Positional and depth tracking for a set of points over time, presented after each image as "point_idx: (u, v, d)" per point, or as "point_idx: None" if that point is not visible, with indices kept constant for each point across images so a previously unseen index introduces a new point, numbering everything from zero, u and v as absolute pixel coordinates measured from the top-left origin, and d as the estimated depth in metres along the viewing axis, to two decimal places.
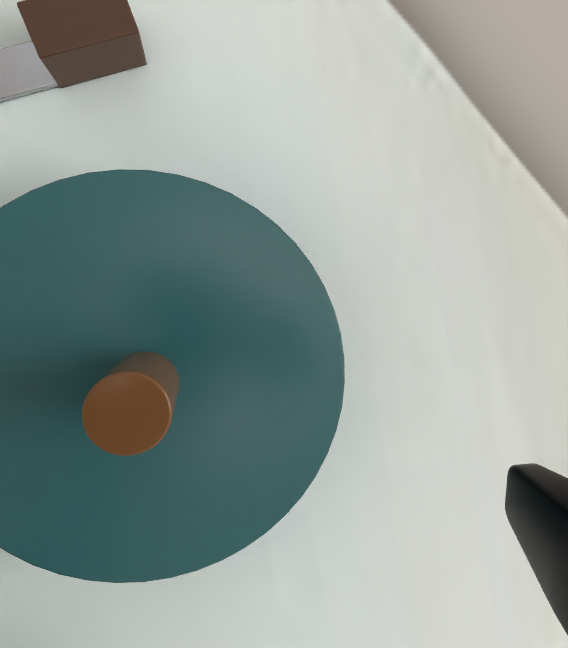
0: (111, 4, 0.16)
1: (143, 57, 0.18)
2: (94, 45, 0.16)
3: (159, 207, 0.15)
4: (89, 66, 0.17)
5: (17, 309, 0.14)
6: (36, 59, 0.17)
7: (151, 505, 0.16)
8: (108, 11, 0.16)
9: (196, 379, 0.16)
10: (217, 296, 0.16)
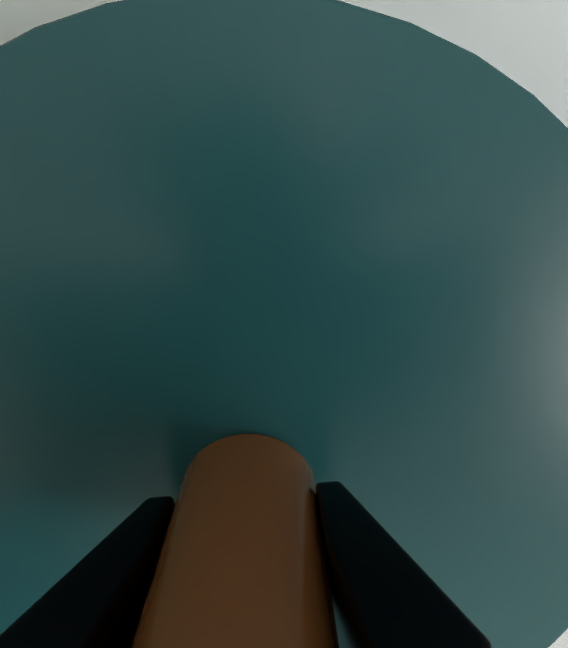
0: None
1: None
2: None
3: (402, 131, 0.06)
4: None
5: (29, 286, 0.06)
6: None
7: None
8: None
9: None
10: (448, 366, 0.07)
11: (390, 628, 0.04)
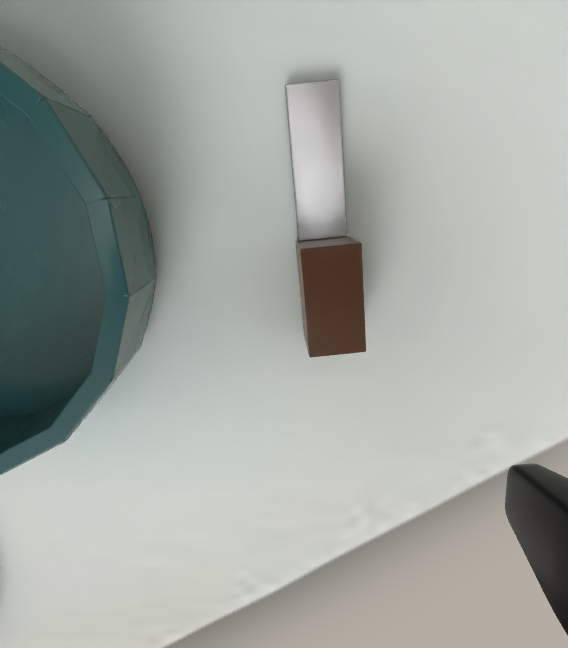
0: (341, 338, 0.15)
1: (305, 339, 0.16)
2: (305, 308, 0.14)
3: None
4: (301, 286, 0.15)
5: None
6: (327, 227, 0.15)
7: None
8: (334, 333, 0.14)
9: None
10: None
11: None
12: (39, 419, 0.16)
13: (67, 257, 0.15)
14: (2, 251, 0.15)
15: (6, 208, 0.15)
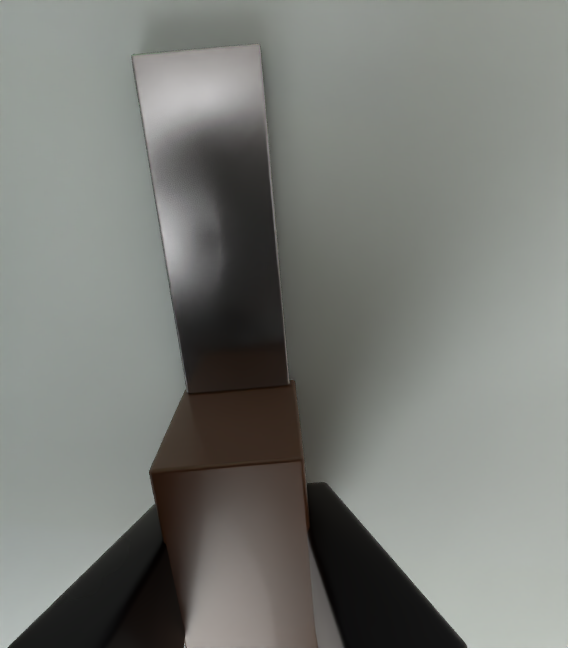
0: (262, 646, 0.06)
1: None
2: None
3: None
4: None
5: None
6: (246, 367, 0.07)
7: None
8: (246, 637, 0.06)
9: None
10: None
11: (366, 630, 0.04)
12: None
13: None
14: None
15: None
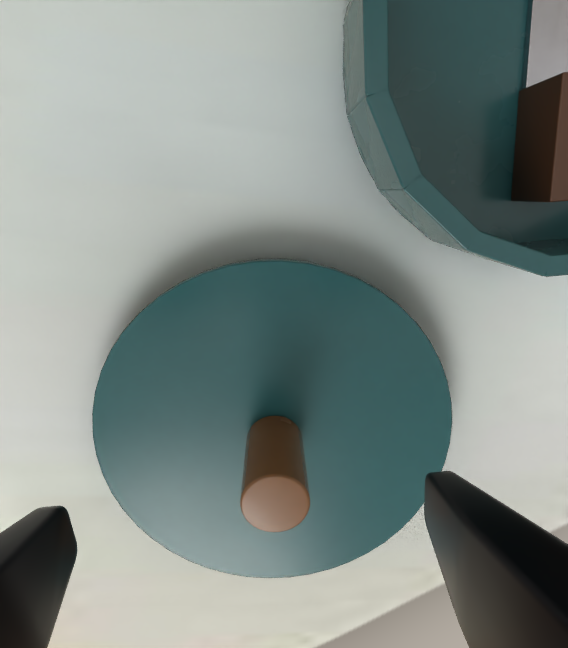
0: None
1: (519, 199, 0.16)
2: (553, 145, 0.13)
3: (407, 482, 0.19)
4: (531, 132, 0.14)
5: (366, 367, 0.17)
6: (557, 72, 0.15)
7: (166, 416, 0.18)
8: None
9: None
10: (327, 503, 0.19)
11: None
12: None
13: None
14: None
15: None
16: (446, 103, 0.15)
